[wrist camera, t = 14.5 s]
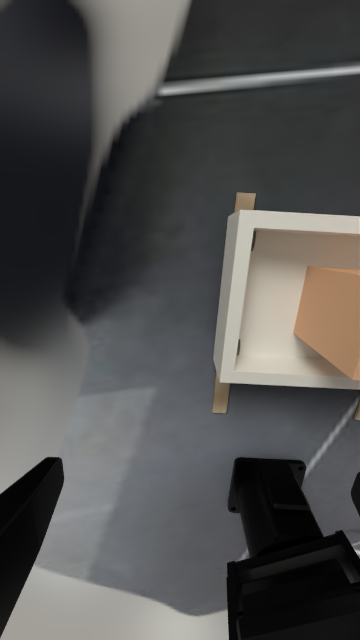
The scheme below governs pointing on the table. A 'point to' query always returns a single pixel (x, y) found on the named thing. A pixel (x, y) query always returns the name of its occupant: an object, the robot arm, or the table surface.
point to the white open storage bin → (277, 296)
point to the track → (221, 389)
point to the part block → (332, 316)
